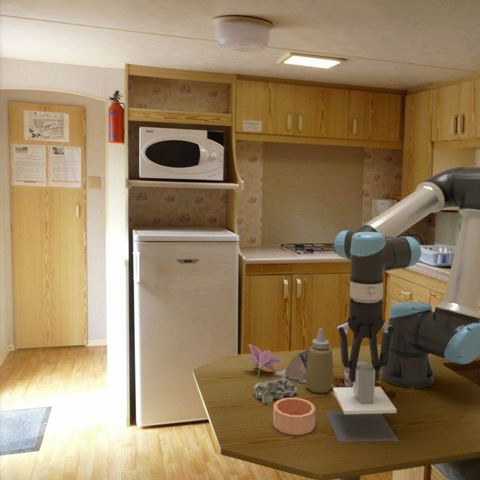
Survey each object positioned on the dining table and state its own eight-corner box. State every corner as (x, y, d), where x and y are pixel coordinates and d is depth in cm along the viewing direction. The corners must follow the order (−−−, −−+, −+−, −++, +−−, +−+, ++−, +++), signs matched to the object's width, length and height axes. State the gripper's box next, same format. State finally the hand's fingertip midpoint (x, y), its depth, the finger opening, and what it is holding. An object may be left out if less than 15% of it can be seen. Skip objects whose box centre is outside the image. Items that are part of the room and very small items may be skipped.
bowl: (310, 416, 126) (311, 397, 125) (317, 436, 116) (318, 416, 116) (271, 416, 126) (272, 397, 125) (275, 437, 116) (276, 416, 115)
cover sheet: (380, 389, 126) (381, 356, 125) (396, 412, 114) (397, 376, 113) (333, 390, 126) (333, 357, 125) (344, 414, 114) (345, 377, 113)
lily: (288, 382, 149) (290, 350, 152) (260, 376, 142) (263, 342, 145) (260, 382, 157) (263, 352, 161) (232, 377, 150) (235, 345, 154)
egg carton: (264, 406, 132) (264, 392, 131) (251, 395, 139) (251, 381, 138) (298, 399, 136) (299, 384, 136) (285, 388, 143) (285, 374, 142)
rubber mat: (379, 413, 128) (380, 411, 128) (399, 443, 114) (399, 440, 114) (325, 414, 127) (325, 411, 127) (338, 443, 114) (338, 441, 113)
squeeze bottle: (298, 386, 143) (301, 325, 141) (323, 382, 146) (325, 323, 144) (313, 398, 136) (316, 334, 134) (338, 393, 139) (341, 331, 137)
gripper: (335, 303, 112) (333, 401, 116) (406, 302, 113) (402, 400, 116) (328, 295, 120) (326, 387, 123) (394, 293, 120) (391, 386, 124)
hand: (363, 393), depth 120 cm, fingers closed on cover sheet, 3 cm apart
